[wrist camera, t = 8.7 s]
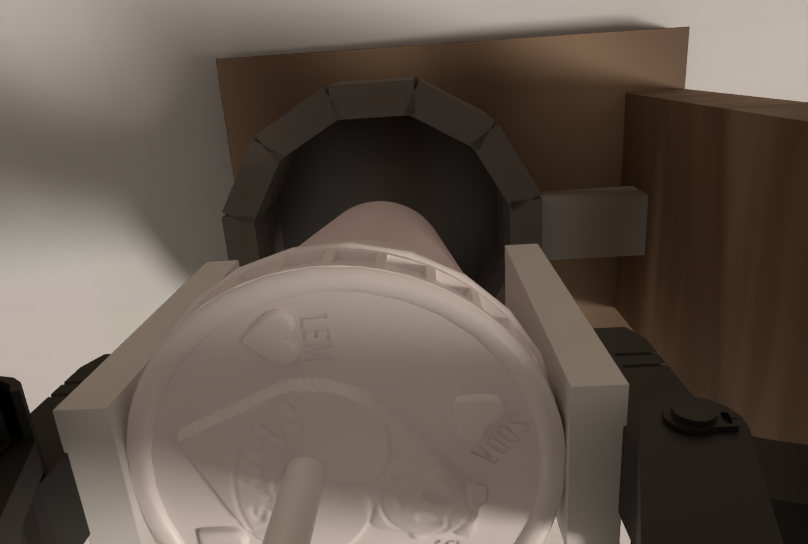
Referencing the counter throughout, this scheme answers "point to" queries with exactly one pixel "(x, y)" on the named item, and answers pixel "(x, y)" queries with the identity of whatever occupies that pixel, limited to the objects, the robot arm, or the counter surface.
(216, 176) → the counter surface
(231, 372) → the smoothie
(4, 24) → the counter surface
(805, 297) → the cup bracket
